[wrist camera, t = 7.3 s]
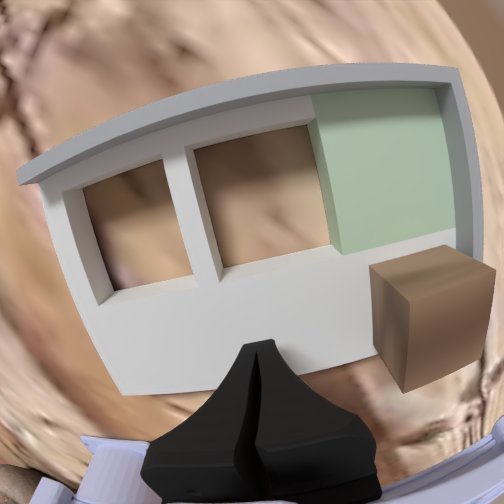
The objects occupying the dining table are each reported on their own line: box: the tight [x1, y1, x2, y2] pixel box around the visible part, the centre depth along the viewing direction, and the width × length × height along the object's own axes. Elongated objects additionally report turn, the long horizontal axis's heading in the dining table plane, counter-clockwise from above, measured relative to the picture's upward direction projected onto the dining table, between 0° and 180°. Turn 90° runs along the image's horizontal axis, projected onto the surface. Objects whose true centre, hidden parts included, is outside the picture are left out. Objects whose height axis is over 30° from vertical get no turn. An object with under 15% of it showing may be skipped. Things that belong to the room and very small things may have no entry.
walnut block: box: [369, 244, 496, 394], centre depth 11 cm, size 4×4×4 cm
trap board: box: [17, 63, 484, 395], centre depth 12 cm, size 14×21×4 cm, turn 103°
